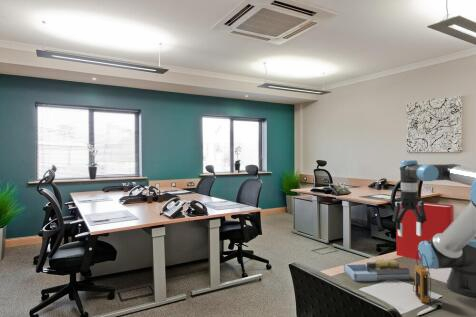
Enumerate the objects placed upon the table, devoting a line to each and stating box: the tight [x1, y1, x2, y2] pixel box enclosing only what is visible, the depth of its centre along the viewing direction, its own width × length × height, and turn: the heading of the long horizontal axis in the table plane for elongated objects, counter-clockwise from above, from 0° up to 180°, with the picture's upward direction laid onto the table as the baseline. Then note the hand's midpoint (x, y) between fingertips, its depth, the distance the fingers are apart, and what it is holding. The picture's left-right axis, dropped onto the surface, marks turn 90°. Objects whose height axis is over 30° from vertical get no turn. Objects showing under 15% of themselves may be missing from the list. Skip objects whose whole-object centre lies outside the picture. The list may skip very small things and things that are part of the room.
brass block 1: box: [375, 259, 388, 269], centre depth 153 cm, size 4×4×4 cm
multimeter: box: [412, 250, 447, 309], centre depth 127 cm, size 15×10×20 cm
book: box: [395, 201, 455, 261], centre depth 176 cm, size 27×8×32 cm, turn 42°
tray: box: [343, 263, 378, 282], centre depth 153 cm, size 13×11×4 cm
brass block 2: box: [385, 258, 399, 269], centre depth 154 cm, size 4×4×4 cm
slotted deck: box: [366, 261, 411, 281], centre depth 154 cm, size 12×16×4 cm
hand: (409, 235), depth 154 cm, fingers open, 9 cm apart
